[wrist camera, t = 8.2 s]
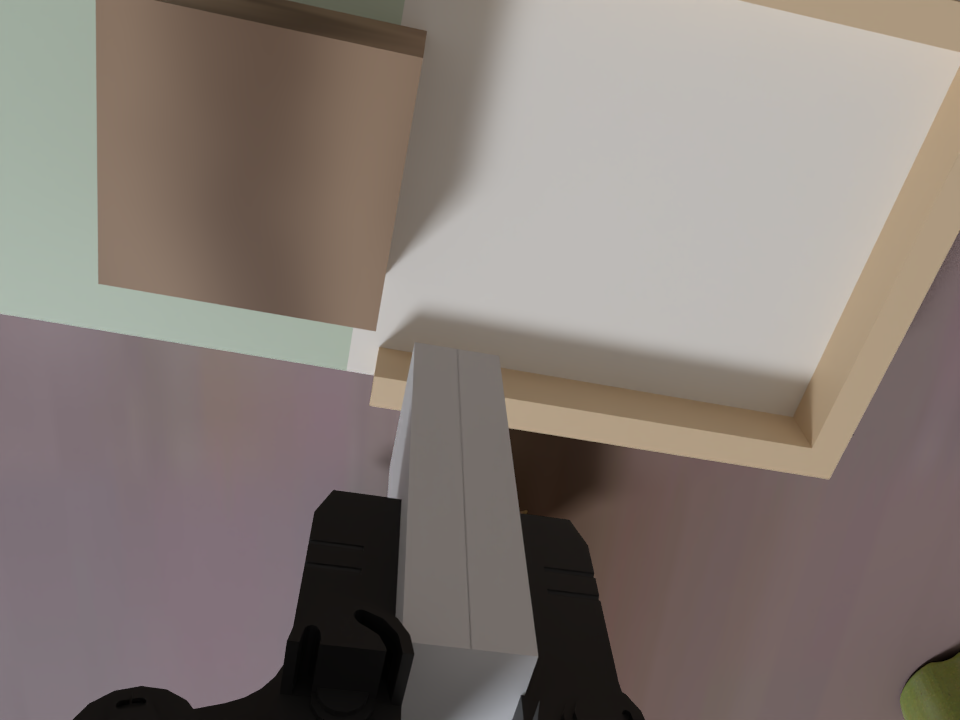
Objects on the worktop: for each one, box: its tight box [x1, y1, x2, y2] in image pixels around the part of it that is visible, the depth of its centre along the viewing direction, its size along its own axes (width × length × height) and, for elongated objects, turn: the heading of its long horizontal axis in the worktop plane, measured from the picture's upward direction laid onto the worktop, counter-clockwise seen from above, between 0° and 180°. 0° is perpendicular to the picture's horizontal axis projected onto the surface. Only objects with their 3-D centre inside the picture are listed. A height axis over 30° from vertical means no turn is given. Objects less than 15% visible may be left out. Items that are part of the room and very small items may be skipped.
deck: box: [0, 0, 960, 479], centre depth 27 cm, size 42×16×5 cm, turn 78°
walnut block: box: [96, 0, 427, 331], centre depth 25 cm, size 8×8×4 cm
